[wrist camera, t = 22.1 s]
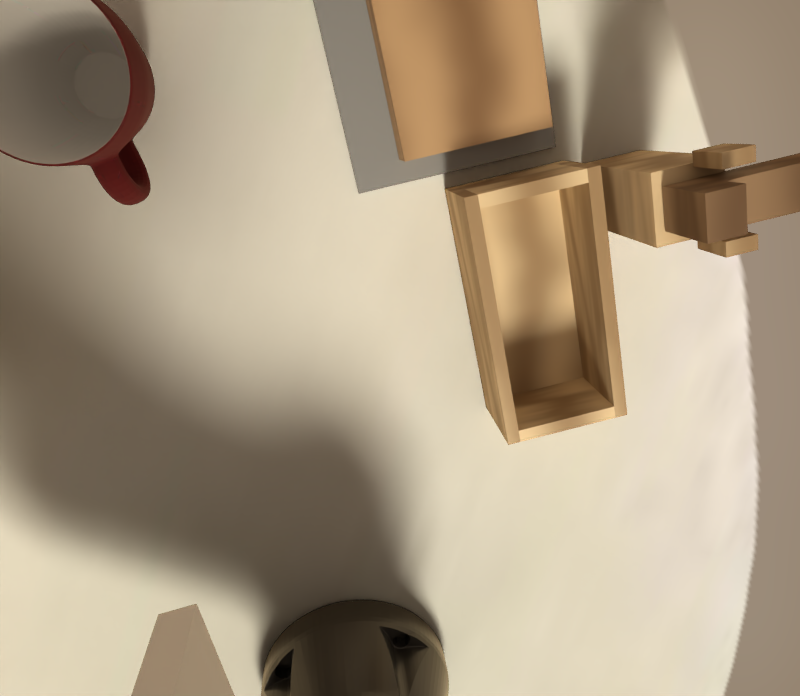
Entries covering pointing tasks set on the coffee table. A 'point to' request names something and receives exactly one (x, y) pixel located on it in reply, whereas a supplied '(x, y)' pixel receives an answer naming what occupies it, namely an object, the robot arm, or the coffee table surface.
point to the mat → (369, 113)
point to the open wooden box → (563, 278)
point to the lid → (460, 71)
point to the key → (732, 200)
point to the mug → (74, 91)
